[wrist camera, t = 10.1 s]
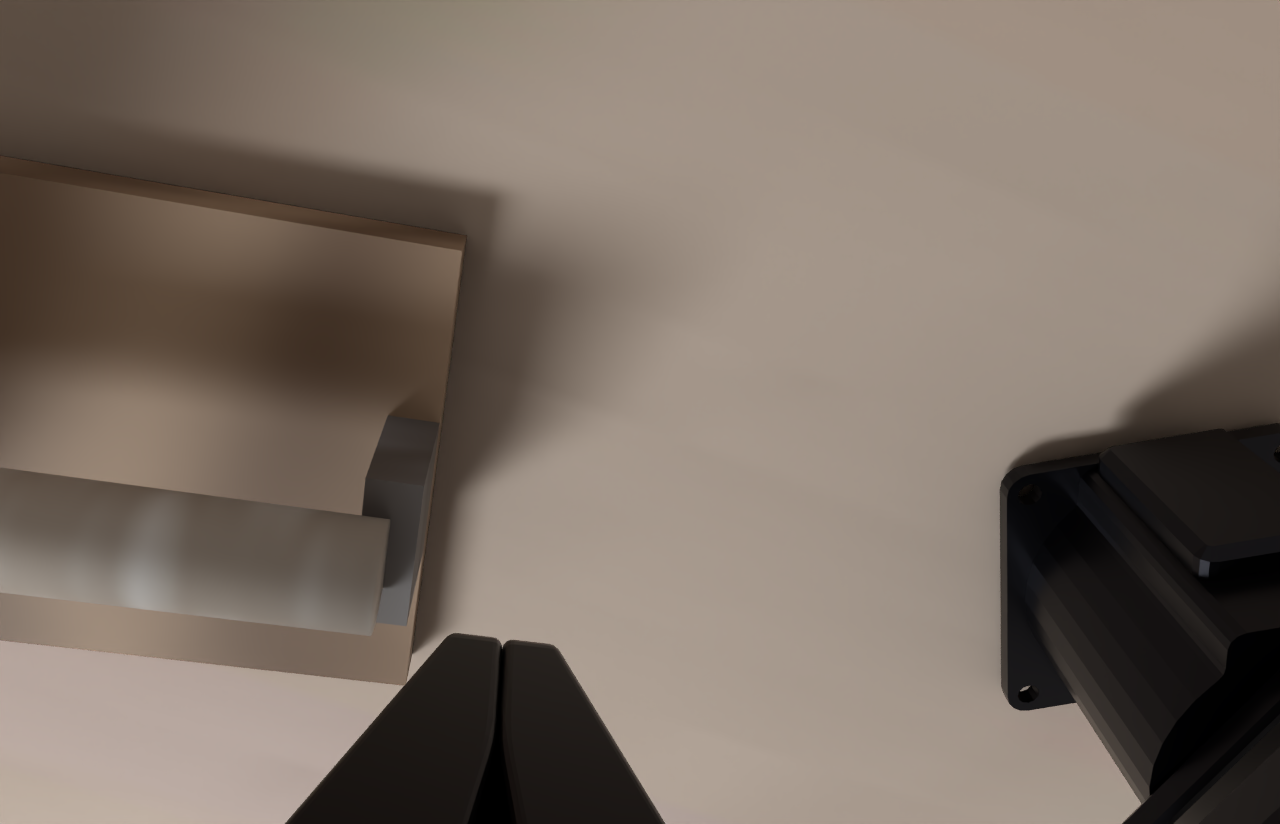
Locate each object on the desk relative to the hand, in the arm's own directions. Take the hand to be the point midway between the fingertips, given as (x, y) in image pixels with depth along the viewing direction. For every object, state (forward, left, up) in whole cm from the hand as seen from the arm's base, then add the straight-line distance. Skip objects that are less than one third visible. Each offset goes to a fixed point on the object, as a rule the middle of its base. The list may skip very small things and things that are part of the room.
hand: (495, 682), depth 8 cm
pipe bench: (-2, +11, -13) cm, 17 cm away
